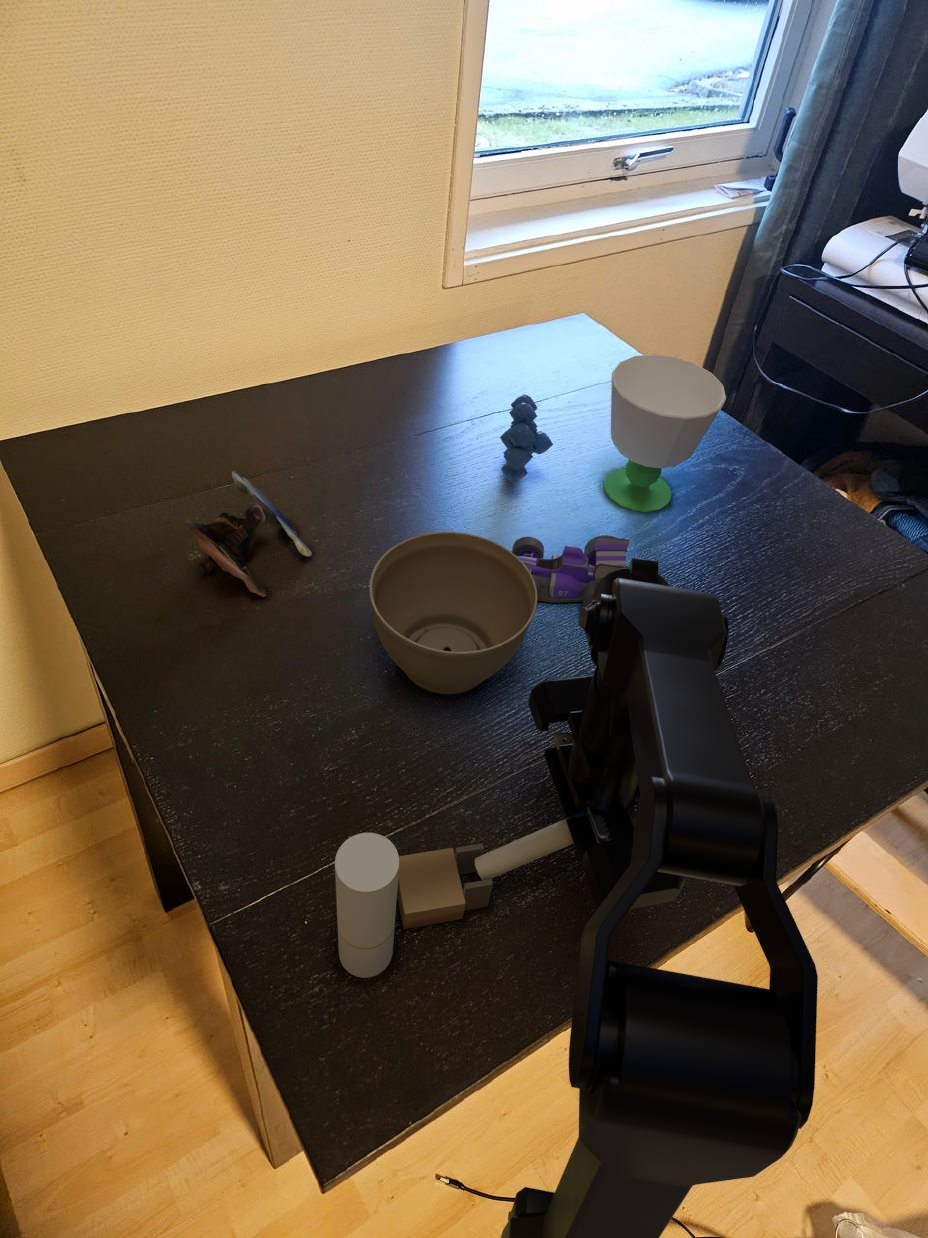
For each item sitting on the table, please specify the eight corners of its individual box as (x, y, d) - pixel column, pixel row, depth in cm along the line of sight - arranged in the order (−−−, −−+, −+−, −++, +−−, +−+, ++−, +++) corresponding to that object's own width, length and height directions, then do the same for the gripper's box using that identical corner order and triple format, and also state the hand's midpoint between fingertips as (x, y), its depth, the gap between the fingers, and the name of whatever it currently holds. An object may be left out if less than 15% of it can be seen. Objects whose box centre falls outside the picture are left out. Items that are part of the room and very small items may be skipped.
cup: (672, 458, 118) (706, 354, 106) (702, 524, 109) (743, 418, 97) (575, 458, 116) (599, 352, 104) (598, 525, 107) (627, 417, 95)
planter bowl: (339, 685, 86) (337, 611, 78) (411, 586, 97) (416, 512, 89) (485, 748, 83) (499, 677, 75) (543, 637, 93) (561, 565, 85)
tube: (368, 989, 66) (369, 904, 55) (327, 954, 68) (321, 865, 57) (403, 946, 69) (412, 857, 58) (363, 914, 70) (364, 821, 59)
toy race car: (496, 549, 102) (502, 507, 97) (620, 568, 102) (633, 526, 97) (488, 606, 95) (494, 564, 91) (621, 626, 95) (635, 584, 90)
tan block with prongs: (489, 914, 71) (495, 891, 68) (403, 930, 70) (405, 907, 67) (475, 859, 74) (481, 835, 71) (393, 873, 73) (394, 849, 70)
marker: (604, 835, 68) (596, 826, 67) (488, 885, 70) (477, 877, 69) (595, 812, 70) (587, 803, 68) (482, 862, 72) (471, 854, 70)
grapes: (543, 510, 108) (559, 430, 99) (490, 503, 108) (502, 422, 99) (547, 456, 116) (562, 377, 107) (497, 449, 116) (509, 370, 107)
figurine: (311, 556, 105) (231, 486, 102) (343, 519, 98) (258, 444, 96) (241, 633, 94) (150, 556, 92) (272, 597, 88) (175, 514, 86)
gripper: (789, 828, 54) (716, 930, 66) (678, 616, 67) (632, 733, 78) (625, 856, 52) (579, 957, 63) (541, 631, 64) (514, 749, 76)
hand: (580, 838), depth 70 cm, fingers closed on marker, 2 cm apart
